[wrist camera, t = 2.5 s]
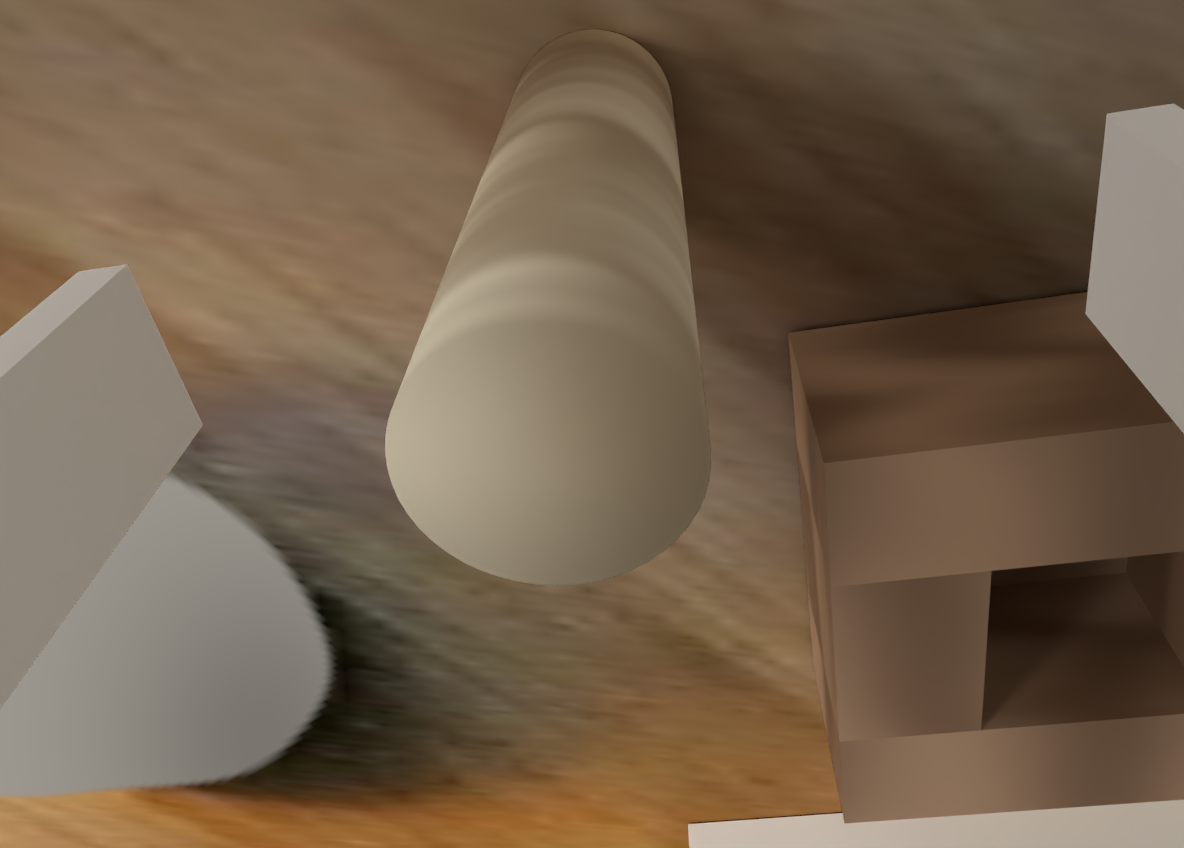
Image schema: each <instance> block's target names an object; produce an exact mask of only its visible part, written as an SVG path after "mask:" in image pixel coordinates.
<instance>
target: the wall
mask: <svg viewBox="0 0 1184 848" xmlns="http://www.w3.org/2000/svg"><path fill="white" fill-rule="evenodd" d="M688 832H689V848H1184V800H1171V801H1157V802H1143V803H1129V804H1114V805H1100V806H1086V807H1072V808H1058V809H1043V810H1029V811H1015V812H1001V813H987V814H972V815H958V816H944V817H930V818H916V819H901V820H887V821H873V822H859V823H845V824H844V819H843V813H836V814H822V815H808V816H794V817H780V818H766V819H752V820H738V821H724V822H710V823H696V824H688Z"/></svg>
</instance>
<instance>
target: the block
mask: <svg viewBox="0 0 1184 848" xmlns="http://www.w3.org/2000/svg"><path fill="white" fill-rule="evenodd" d="M1087 293H1088V292H1084V293H1077V294H1070V295H1062V296H1055V297H1048V298H1040V299H1033V300H1026V301H1018V302H1011V303H1004V304H996V305H989V306H982V307H974V308H967V309H960V310H952V311H945V312H937V313H930V314H923V315H915V316H908V317H901V318H893V319H886V320H879V321H871V322H864V323H857V324H849V325H842V326H835V327H827V328H820V329H813V330H805V331H798V332H791V333H788V337H789V351H790V364H791V377H792V390H793V403H794V417H795V430H796V443H797V456H798V470H799V483H800V496H801V509H802V522H803V536H804V549H805V562H806V575H807V589H808V602H809V615H810V628H811V641H812V655H813V667H814V672H815V677H816V683H817V688H818V693H819V698H820V703H821V708H822V713H823V718H824V723H825V728H826V733H827V738H828V743H829V748H830V753H831V758H832V763H833V768H834V773H835V778H836V783H837V788H838V793H839V798H840V803H841V808H842V813H843V819H844V824H845V823H859V822H873V821H887V820H901V819H916V818H930V817H944V816H958V815H972V814H987V813H1001V812H1015V811H1029V810H1043V809H1058V808H1072V807H1086V806H1100V805H1114V804H1129V803H1143V802H1157V801H1171V800H1184V433H1183V432H1182V431H1181V430H1180V428H1179V427H1178V426H1177V425H1176V424H1175V422H1174V421H1173V420H1172V419H1171V417H1170V416H1169V415H1168V414H1167V413H1166V411H1165V410H1164V409H1163V408H1162V407H1161V405H1160V404H1159V403H1158V402H1157V400H1156V399H1155V398H1154V397H1153V396H1152V394H1151V393H1150V392H1149V391H1148V389H1147V388H1146V387H1145V386H1144V385H1143V383H1142V382H1141V381H1140V380H1139V379H1138V377H1137V376H1136V375H1135V374H1134V372H1133V371H1132V370H1131V369H1130V368H1129V366H1128V365H1127V364H1126V363H1125V361H1124V360H1123V359H1122V358H1121V357H1120V355H1119V354H1118V353H1117V352H1116V351H1115V349H1114V348H1113V347H1112V346H1111V344H1110V343H1109V342H1108V341H1107V340H1106V338H1105V337H1104V336H1103V335H1102V333H1101V332H1100V331H1099V330H1098V329H1097V327H1096V326H1095V325H1094V324H1093V323H1092V321H1091V320H1090V319H1089V318H1088V316H1087V315H1086V314H1085V312H1086V302H1087Z"/></svg>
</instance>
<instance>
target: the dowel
mask: <svg viewBox="0 0 1184 848" xmlns="http://www.w3.org/2000/svg"><path fill="white" fill-rule="evenodd" d="M385 454H386V463H387V469H388V472H389V476H390V479H391V483H392V486H393V488H394V490H395V492H396V495H397V497H398V499H399V501H400V503H401V504H402V506H403V507H404V509H405V511H406V512H407V514H408V515H409V517H410V518H411V519H412V520H413V521H414V523H415V524H416V525H417V526H418V527H419V529H420V530H421V531H422V532H423V533H424V534H425V535H427V536H428V537H429V538H430V539H431V540H432V541H433V542H434V543H435V544H437V545H438V546H439V547H441V548H442V549H443V550H445V551H446V552H447V553H449V554H450V555H452V556H454V557H455V558H457V559H459V560H460V561H462V562H464V563H466V564H468V565H470V566H472V567H474V568H477V569H479V570H481V571H483V572H486V573H489V574H492V575H495V576H498V577H501V578H505V579H509V580H513V581H518V582H524V583H531V584H538V585H574V584H583V583H589V582H595V581H600V580H603V579H607V578H611V577H615V576H617V575H620V574H623V573H625V572H628V571H631V570H633V569H635V568H637V567H639V566H641V565H643V564H645V563H647V562H648V561H650V560H651V559H653V558H654V557H656V556H657V555H659V554H660V553H662V552H663V551H664V550H666V549H667V548H668V547H669V546H670V545H671V544H672V543H674V542H675V541H676V540H677V539H678V538H679V537H680V535H681V534H682V533H683V532H684V531H685V530H686V529H687V527H688V526H689V525H690V523H691V522H692V520H693V518H694V517H695V515H696V514H697V512H698V510H699V508H700V506H701V503H702V501H703V499H704V497H705V493H706V490H707V486H708V483H709V477H710V468H711V452H710V440H709V430H708V421H707V412H706V403H705V394H704V385H703V376H702V367H701V357H700V348H699V339H698V330H697V321H696V312H695V303H694V294H693V284H692V275H691V266H690V257H689V248H688V239H687V230H686V221H685V211H684V202H683V193H682V184H681V175H680V166H679V157H678V148H677V138H676V129H675V120H674V111H673V102H672V96H671V91H670V87H669V84H668V81H667V79H666V77H665V75H664V73H663V71H662V69H661V67H660V66H659V64H658V63H657V61H656V60H655V59H654V58H653V57H652V55H651V54H650V53H649V52H648V51H647V50H645V49H644V48H643V47H642V46H641V45H639V44H638V43H636V42H635V41H633V40H632V39H630V38H628V37H626V36H623V35H621V34H618V33H615V32H612V31H606V30H599V29H587V30H578V31H574V32H571V33H567V34H565V35H562V36H560V37H558V38H556V39H554V40H552V41H551V42H549V43H548V44H546V45H545V46H544V47H543V48H541V49H540V50H539V51H538V52H537V53H536V54H535V55H534V56H533V58H532V59H531V60H530V62H529V63H528V64H527V66H526V68H525V69H524V71H523V73H522V75H521V77H520V80H519V83H518V85H517V88H516V90H515V93H514V95H513V98H512V101H511V103H510V106H509V108H508V111H507V113H506V116H505V119H504V121H503V124H502V126H501V129H500V132H499V134H498V137H497V139H496V142H495V144H494V147H493V150H492V152H491V155H490V157H489V160H488V162H487V165H486V168H485V170H484V173H483V175H482V178H481V180H480V183H479V186H478V188H477V191H476V193H475V196H474V198H473V201H472V204H471V206H470V209H469V211H468V214H467V217H466V219H465V222H464V224H463V227H462V229H461V232H460V235H459V237H458V240H457V242H456V245H455V247H454V250H453V253H452V255H451V258H450V260H449V263H448V265H447V268H446V271H445V273H444V276H443V278H442V281H441V283H440V286H439V289H438V291H437V294H436V296H435V299H434V301H433V304H432V307H431V309H430V312H429V314H428V317H427V320H426V322H425V325H424V327H423V330H422V332H421V335H420V338H419V340H418V343H417V345H416V348H415V350H414V353H413V356H412V358H411V361H410V363H409V366H408V368H407V371H406V374H405V376H404V379H403V381H402V384H401V386H400V389H399V392H398V394H397V397H396V399H395V402H394V405H393V407H392V410H391V412H390V415H389V419H388V424H387V429H386V437H385Z"/></svg>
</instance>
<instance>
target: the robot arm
mask: <svg viewBox="0 0 1184 848" xmlns="http://www.w3.org/2000/svg"><path fill="white" fill-rule="evenodd" d="M1085 314H1086V315H1087V316H1088V318H1089V319H1090V320H1091V321H1092V323H1093V324H1094V325H1095V326H1096V327H1097V329H1098V330H1099V331H1100V332H1101V333H1102V335H1103V336H1104V337H1105V338H1106V340H1107V341H1108V342H1109V343H1110V344H1111V346H1112V347H1113V348H1114V349H1115V351H1116V352H1117V353H1118V354H1119V355H1120V357H1121V358H1122V359H1123V360H1124V361H1125V363H1126V364H1127V365H1128V366H1129V368H1130V369H1131V370H1132V371H1133V372H1134V374H1135V375H1136V376H1137V377H1138V379H1139V380H1140V381H1141V382H1142V383H1143V385H1144V386H1145V387H1146V388H1147V389H1148V391H1149V392H1150V393H1151V394H1152V396H1153V397H1154V398H1155V399H1156V400H1157V402H1158V403H1159V404H1160V405H1161V407H1162V408H1163V409H1164V410H1165V411H1166V413H1167V414H1168V415H1169V416H1170V417H1171V419H1172V420H1173V421H1174V422H1175V424H1176V425H1177V426H1178V427H1179V428H1180V430H1181V431H1182V432H1183V433H1184V109H1182V108H1180V107H1179V106H1177V105H1175V104H1174V103H1173V104H1167V105H1160V106H1153V107H1147V108H1140V109H1134V110H1127V111H1121V112H1114V113H1108V114H1107V117H1106V126H1105V135H1104V145H1103V154H1102V163H1101V173H1100V182H1099V191H1098V200H1097V210H1096V219H1095V228H1094V238H1093V247H1092V256H1091V265H1090V275H1089V284H1088V293H1087V302H1086V312H1085ZM202 426H203V424H202V422H201V420H200V418H199V416H198V413H197V411H196V409H195V407H194V405H193V403H192V401H191V399H190V396H189V394H188V392H187V390H186V388H185V386H184V384H183V382H182V379H181V377H180V375H179V373H178V371H177V369H176V367H175V365H174V362H173V360H172V358H171V356H170V354H169V352H168V350H167V348H166V345H165V343H164V341H163V339H162V337H161V335H160V333H159V331H158V328H157V326H156V324H155V322H154V320H153V318H152V316H151V314H150V311H149V309H148V307H147V305H146V303H145V301H144V299H143V296H142V294H141V292H140V290H139V288H138V286H137V284H136V282H135V279H134V277H133V275H132V273H131V271H130V269H129V267H128V265H127V264H125V265H119V266H112V267H106V268H99V269H93V270H86V271H80V272H77V273H76V274H75V275H74V276H73V277H71V278H70V279H69V280H68V281H67V282H65V283H64V284H63V285H62V286H61V287H59V288H58V289H57V290H56V291H55V292H53V293H52V294H51V295H50V296H49V297H47V298H46V299H45V300H44V301H43V302H41V303H40V304H39V305H38V306H37V307H35V308H34V309H33V310H32V311H31V312H29V313H28V314H27V315H26V316H25V317H23V318H22V319H21V320H20V321H19V322H17V323H16V324H15V325H14V326H13V327H11V328H10V329H9V330H8V331H7V332H5V333H4V334H3V335H2V336H1V337H0V709H1V707H2V706H3V704H4V703H5V702H6V700H7V699H8V697H9V696H10V695H11V693H12V692H13V691H14V689H15V688H16V686H17V685H18V683H19V682H20V681H21V679H22V678H23V676H24V675H25V674H26V672H27V671H28V669H29V668H30V667H31V665H32V664H33V662H34V661H35V660H36V658H37V657H38V655H39V654H40V653H41V651H42V650H43V648H44V647H45V646H46V644H47V643H48V641H49V640H50V639H51V637H52V636H53V635H54V633H55V632H56V630H57V629H58V627H59V626H60V625H61V623H62V622H63V621H64V619H65V618H66V616H67V615H68V614H69V612H70V611H71V609H72V608H73V607H74V605H75V604H76V602H77V601H78V600H79V598H80V597H81V595H82V594H83V592H84V591H85V590H86V588H87V587H88V585H89V584H90V583H91V581H92V580H93V579H94V577H95V576H96V574H97V573H98V572H99V570H100V569H101V567H102V566H103V564H104V563H105V562H106V560H107V559H108V558H109V556H110V555H111V553H112V552H113V550H114V549H115V548H116V546H117V545H118V544H119V542H120V541H121V539H122V538H123V537H124V535H125V534H126V532H127V531H128V529H129V528H130V527H131V525H132V524H133V523H134V521H135V520H136V518H137V517H138V515H139V514H140V513H141V511H142V510H143V509H144V507H145V506H146V504H147V503H148V501H149V500H150V499H151V497H152V496H153V494H154V493H155V492H156V490H157V489H158V487H159V486H160V485H161V483H162V482H163V481H164V479H165V478H166V476H167V475H168V474H169V472H170V471H171V469H172V468H173V466H174V465H175V464H176V462H177V461H178V459H179V458H180V457H181V455H182V454H183V452H184V451H185V450H186V448H187V447H188V445H189V444H190V443H191V441H192V440H193V438H194V437H195V436H196V434H197V433H198V431H199V430H200V429H201V427H202Z"/></svg>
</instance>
